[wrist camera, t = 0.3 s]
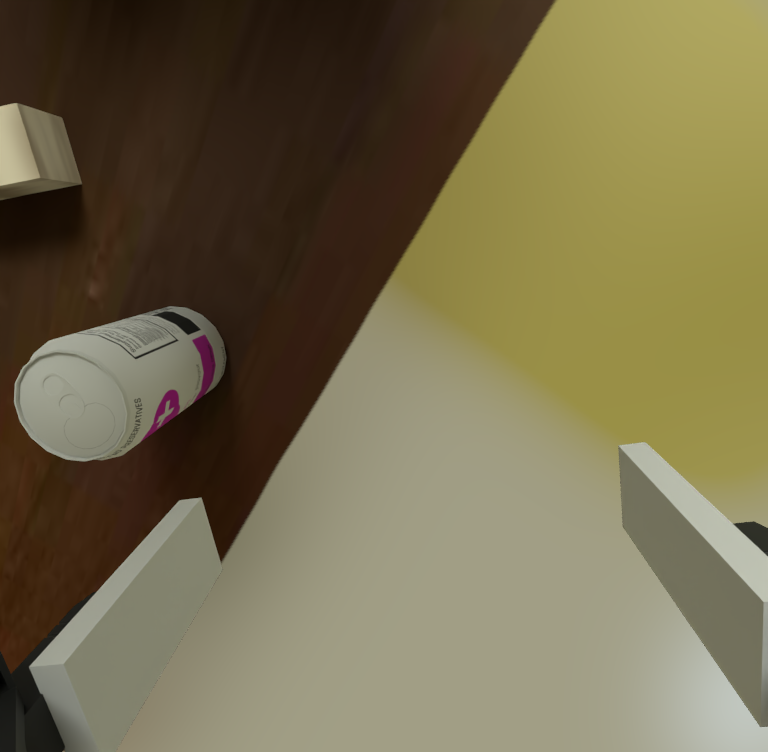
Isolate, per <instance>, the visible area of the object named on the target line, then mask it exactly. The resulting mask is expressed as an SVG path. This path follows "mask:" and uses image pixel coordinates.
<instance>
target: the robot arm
mask: <svg viewBox="0 0 768 752" xmlns="http://www.w3.org/2000/svg"><path fill="white" fill-rule="evenodd" d="M618 447H619V465H620V484H621V501H622V519H623V528H624V529H625V530H626V532H627V533H628V535H629V536H630V538H631V539H632V541H633V542H634V544H635V545H636V547H637V548H638V550H639V551H640V552H641V554H642V555H643V557H644V558H645V560H646V561H647V563H648V564H649V566H650V567H651V568H652V570H653V571H654V573H655V574H656V576H657V577H658V579H659V580H660V582H661V583H662V585H663V586H664V587H665V589H666V590H667V592H668V593H669V595H670V596H671V598H672V599H673V601H674V602H675V603H676V605H677V606H678V608H679V609H680V611H681V612H682V614H683V615H684V617H685V618H686V619H687V621H688V622H689V624H690V625H691V627H692V628H693V630H694V631H695V632H696V634H697V635H698V637H699V638H700V640H701V641H702V643H703V644H704V646H705V647H706V649H707V650H708V651H709V653H710V654H711V656H712V657H713V659H714V660H715V662H716V663H717V664H718V666H719V667H720V669H721V670H722V672H723V673H724V675H725V676H726V678H727V679H728V681H729V682H730V683H731V685H732V686H733V688H734V689H735V691H736V692H737V694H738V695H739V697H740V698H741V699H742V701H743V702H744V704H745V705H746V707H747V708H748V710H749V711H750V713H751V714H752V716H753V717H754V718H755V720H756V721H757V723H758V724H759V726H760V727H767V726H768V528H766V527H764V526H762V525H760V524H758V523H756V522H744V523H736V524H732V523H731V522H730V521H729V520H728V519H727V518H726V517H725V516H724V515H723V514H722V513H721V512H719V511H718V510H717V509H716V508H715V507H714V506H713V505H712V504H711V503H710V502H709V501H708V500H707V499H705V498H704V497H703V496H702V495H701V494H700V493H699V492H698V491H697V490H696V489H695V488H694V487H693V486H692V485H691V484H690V483H688V482H687V481H686V480H685V479H684V478H683V477H682V476H681V475H680V474H679V473H678V472H677V471H676V470H675V469H673V468H672V467H671V466H670V465H669V464H668V463H667V462H666V461H665V460H664V459H663V458H662V457H661V456H660V455H658V454H657V453H656V452H655V451H654V450H653V449H652V448H651V447H650V446H649V445H648V444H647V443H645V442H643V443H635V444H627V445H619V446H618ZM222 570H223V569H222V566H221V562H220V559H219V555H218V552H217V549H216V545H215V542H214V538H213V535H212V532H211V528H210V525H209V521H208V518H207V515H206V511H205V508H204V504H203V501H202V498H194V499H186V500H179V501H178V502H177V504H176V505H175V506H174V507H173V508H172V509H171V510H170V511H169V512H168V514H167V515H166V516H165V517H164V518H163V519H162V520H161V521H160V522H159V524H158V525H157V526H156V527H155V528H154V529H153V530H152V531H151V532H150V533H149V535H148V536H147V537H146V538H145V539H144V540H143V541H142V542H141V543H140V545H139V546H138V547H137V548H136V549H135V550H134V551H133V552H132V553H131V555H130V556H129V557H128V558H127V559H126V560H125V561H124V562H123V563H122V564H121V566H120V567H119V568H118V569H117V570H116V571H115V572H114V573H113V574H112V576H111V577H110V578H109V579H108V580H107V581H106V582H105V583H104V584H103V585H102V587H101V588H100V589H99V590H98V591H97V592H93V593H92V594H91V595H89V596H88V597H86V598H85V599H84V600H82V601H81V602H80V603H78V604H77V605H75V606H74V607H73V608H72V609H71V610H70V611H69V612H68V613H67V615H66V616H65V617H64V618H63V619H62V620H61V621H60V622H59V623H60V624H59V625H56V626H55V627H54V629H53V630H52V631H51V632H50V633H49V634H48V637H47V638H44V639H43V640H42V641H41V643H40V644H39V645H38V646H37V647H36V648H35V649H34V650H33V651H32V652H31V653H30V654H29V655H28V657H27V658H26V659H25V660H24V661H23V662H22V663H21V664H20V665H19V666H18V667H17V668H16V669H15V671H14V672H13V673H12V674H10V672H9V669H8V667H7V665H6V663H5V660H4V658H3V656H2V654H1V652H0V752H62V751H63V750H64V749H65V751H66V752H116V750H117V748H118V747H119V745H120V743H121V742H122V740H123V738H124V737H125V735H126V733H127V732H128V730H129V728H130V726H131V725H132V723H133V721H134V720H135V718H136V716H137V715H138V713H139V711H140V709H141V708H142V706H143V704H144V703H145V701H146V699H147V698H148V696H149V694H150V692H151V691H152V689H153V687H154V686H155V684H156V682H157V681H158V679H159V677H160V675H161V674H162V672H163V670H164V669H165V667H166V665H167V664H168V662H169V660H170V658H171V657H172V655H173V653H174V652H175V650H176V648H177V647H178V645H179V643H180V641H181V640H182V638H183V636H184V635H185V633H186V631H187V630H188V628H189V626H190V625H191V623H192V621H193V619H194V618H195V616H196V614H197V613H198V611H199V609H200V608H201V606H202V604H203V602H204V601H205V599H206V597H207V595H208V594H209V592H210V591H211V589H212V587H213V585H214V584H215V582H216V580H217V579H218V577H219V575H220V574H221V572H222Z"/></svg>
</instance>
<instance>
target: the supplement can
mask: <svg viewBox="0 0 768 752" xmlns="http://www.w3.org/2000/svg"><path fill="white" fill-rule="evenodd" d="M225 364H226V353H225V347H224V342H223V340H222V338H221V336H220V335H219V333H218V331H217V329H216V327H215V326H214V325H213V324H212V323H210V322H209V321H208V320H207V319H206V318H205V317H204V316H203V315H201V314H199V313H197V312H195V311H193V310H190V309H188V308H184V307H173V306H169V307H166V308H162V309H159V310H155V311H152V312H148V313H145V314H141V315H138V316H134V317H131V318H127V319H124V320H120V321H117V322H113V323H110V324H106V325H103V326H99V327H96V328H92V329H89V330H85V331H82V332H78V333H75V334H71V335H68V336H64V337H61V338H57V339H54V340H50V341H48V342H47V343H46V344H44V345H43V346H42V347H41V348H40V349H38V350H37V351H36V352H35V353H34V354H33V355H32V357H31V359H30V361H29V362H28V363H27V364H26V365H25V366H24V367H23V368H22V370H21V372H20V374H19V376H18V378H17V380H16V382H15V393H14V404H15V407H16V410H17V413H18V417H19V420H20V422H21V424H22V425H23V426H24V428H25V429H26V431H27V432H28V434H29V435H30V437H31V438H32V439H33V440H34V441H35V442H37V443H38V444H39V445H40V446H42V447H43V448H44V449H45V450H46V451H48V452H50V453H52V454H55V455H57V456H59V457H61V458H64V459H66V460H76V461H89V460H105V459H109V458H114V457H118V456H122V455H123V454H125V453H126V452H128V451H129V450H130V449H132V448H133V447H134V446H136V445H137V444H139V443H140V442H141V441H143V440H144V439H145V438H147V437H148V436H149V435H151V434H152V433H153V432H155V431H156V430H158V429H159V428H160V427H162V426H163V425H164V424H166V423H167V422H168V421H170V420H171V419H172V418H174V417H175V416H176V415H178V414H179V413H181V412H182V411H183V410H185V409H186V408H187V407H189V406H190V405H191V404H193V403H194V402H195V401H197V400H198V399H199V398H201V397H202V396H204V395H205V394H206V393H208V392H209V391H210V390H212V389H213V388H214V387H216V385H217V384H218V382H219V381H220V379H221V377H222V376H223V374H224V370H225Z"/></svg>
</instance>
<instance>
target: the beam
mask: <svg viewBox="0 0 768 752" xmlns="http://www.w3.org/2000/svg"><path fill="white" fill-rule="evenodd" d="M80 184H82V182H81V179H80V176H79V172H78V169H77V166H76V162H75V159H74V156H73V152H72V149H71V146H70V142H69V139H68V136H67V132H66V129H65V126H64V122H63V119H62V118H61V117H58V116H55V115H52V114H49V113H46V112H43V111H40V110H37V109H34V108H31V107H28V106H25V105H22V104H18V103H14V104H9V105H5V106H0V200H4V199H9V198H14V197H19V196H24V195H29V194H34V193H39V192H44V191H49V190H54V189H59V188H64V187H69V186H75V185H80Z"/></svg>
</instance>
